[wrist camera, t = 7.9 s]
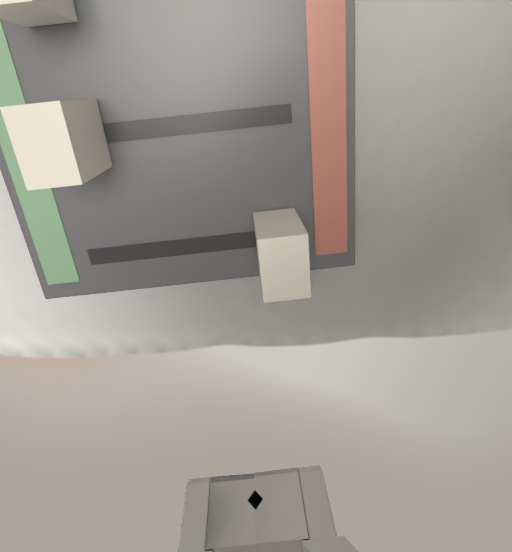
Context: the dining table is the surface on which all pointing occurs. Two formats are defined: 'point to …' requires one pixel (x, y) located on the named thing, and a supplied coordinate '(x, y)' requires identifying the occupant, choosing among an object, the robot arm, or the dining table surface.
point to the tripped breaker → (282, 255)
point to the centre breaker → (57, 142)
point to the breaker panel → (188, 137)
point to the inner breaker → (38, 12)
